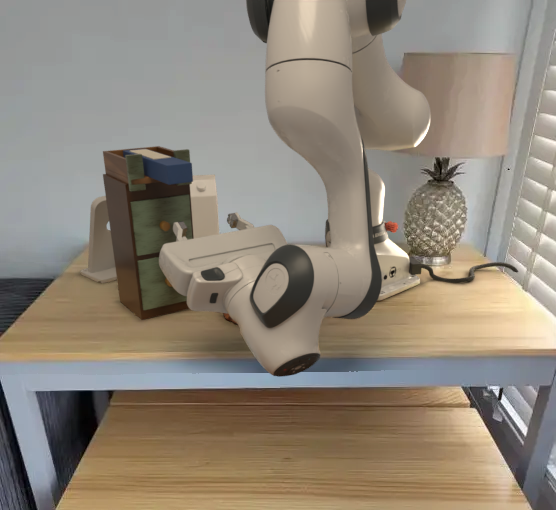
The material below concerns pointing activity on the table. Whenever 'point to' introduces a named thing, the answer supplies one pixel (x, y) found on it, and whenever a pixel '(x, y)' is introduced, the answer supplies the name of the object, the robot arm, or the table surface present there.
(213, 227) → the milk carton
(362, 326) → the table surface
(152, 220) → the drawer stand
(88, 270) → the phone holder
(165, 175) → the case
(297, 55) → the robot arm
